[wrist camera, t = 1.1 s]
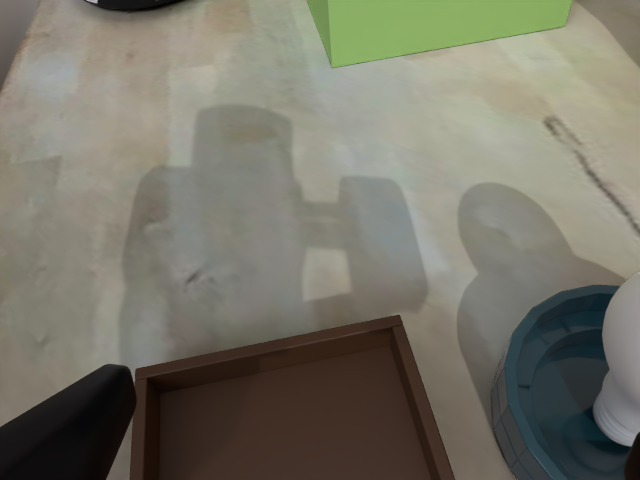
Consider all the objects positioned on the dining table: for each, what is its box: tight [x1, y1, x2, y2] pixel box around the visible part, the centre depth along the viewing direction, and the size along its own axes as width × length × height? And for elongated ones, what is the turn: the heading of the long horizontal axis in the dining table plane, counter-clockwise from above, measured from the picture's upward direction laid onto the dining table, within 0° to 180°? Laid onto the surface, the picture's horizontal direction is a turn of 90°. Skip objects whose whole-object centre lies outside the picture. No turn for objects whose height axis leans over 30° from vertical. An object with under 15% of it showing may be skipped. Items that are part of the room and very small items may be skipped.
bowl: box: [491, 285, 631, 480], centre depth 22 cm, size 11×11×4 cm
